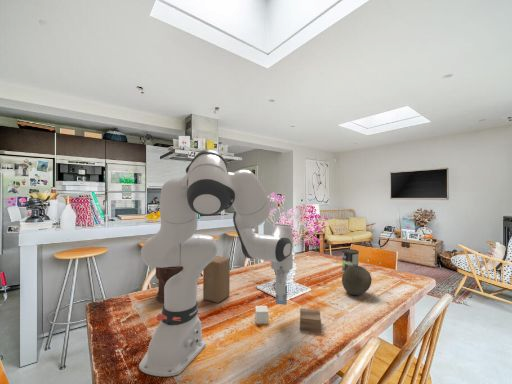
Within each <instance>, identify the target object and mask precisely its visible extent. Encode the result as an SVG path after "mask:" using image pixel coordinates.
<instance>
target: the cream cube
mask: <svg viewBox="0 0 512 384" xmlns="http://www.w3.org/2000/svg"><path fill="white" fill-rule="evenodd" d="M254 311H255V324H256V325H257V324H258V325H260V324H263V325H264V324H269V309H268V305H255V310H254Z"/></svg>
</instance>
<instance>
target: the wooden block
mask: <svg viewBox="0 0 512 384" xmlns="http://www.w3.org/2000/svg"><path fill="white" fill-rule="evenodd" d="M230 263H231V261H230V257H225V256H220V255H219V256H218V255H216V257H215V258H214V260H213V261H212V262H211V263H209V264H208V265H207V266H206V267H205V268H204V270H203V271H202V273H203V274H202V275H203V279H202V280H203V281H202V283H203V286H202V287H203V288H202V291H203V293H202V294H203V295H202V296H203V297H202V298H203V300H206V301H210V302H214V303H217V304H218V303H221V302H222V301H224V300H225V299H226V298H228V297H229V296H230V285H231V284H230V278H231V277H230V273H231V272H230V269H231V268H230V266H231V264H230Z"/></svg>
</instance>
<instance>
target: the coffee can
mask: <svg viewBox="0 0 512 384" xmlns="http://www.w3.org/2000/svg"><path fill="white" fill-rule="evenodd" d="M359 254H360V251H359V250H357V249H353V248H343V249H342V269H341V271H342V272H343V273H344V271H345V270H346V269H347V268H348V267H349V266H353V265H358V266H359V258H360V257H359Z"/></svg>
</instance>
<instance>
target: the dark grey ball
mask: <svg viewBox="0 0 512 384" xmlns="http://www.w3.org/2000/svg"><path fill="white" fill-rule="evenodd" d="M341 282H342V283H341V284H342V287H343V289H344V290H345V291H346V292H347V294H349V295H353V296H360V295H363V294H366V292H367V291H369V289H370V287H371V286H372V276H371V273H370V272H369V271H368V270H367V269H366V268H365V267H363V266H361V265H359V264H358V265H353V266H349V267H348V268H347V269H346V270H345V271H344V272H343V273H342V277H341Z"/></svg>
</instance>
